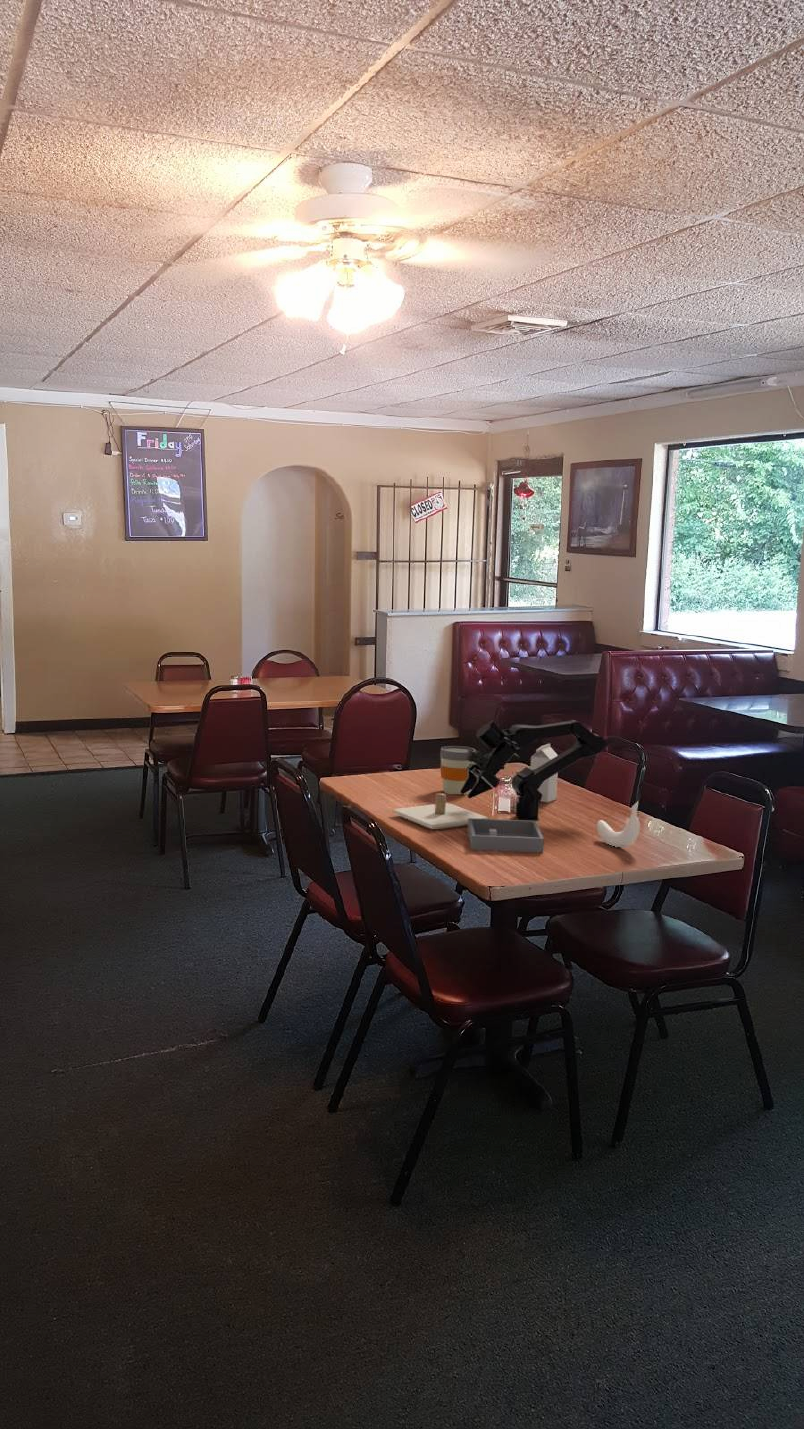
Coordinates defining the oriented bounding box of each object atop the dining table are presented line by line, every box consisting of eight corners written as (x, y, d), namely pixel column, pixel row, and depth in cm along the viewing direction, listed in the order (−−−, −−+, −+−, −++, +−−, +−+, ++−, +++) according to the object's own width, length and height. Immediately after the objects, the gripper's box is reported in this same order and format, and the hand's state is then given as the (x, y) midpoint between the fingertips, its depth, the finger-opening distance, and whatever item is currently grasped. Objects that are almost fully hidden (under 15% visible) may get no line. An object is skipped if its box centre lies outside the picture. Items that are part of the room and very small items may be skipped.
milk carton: (556, 799, 365) (559, 744, 362) (547, 803, 359) (550, 747, 356) (537, 796, 368) (540, 742, 366) (528, 799, 362) (531, 744, 360)
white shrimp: (601, 837, 318) (604, 788, 315) (643, 854, 301) (647, 803, 299) (587, 838, 315) (591, 790, 313) (629, 855, 299) (633, 804, 297)
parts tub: (534, 833, 318) (535, 820, 317) (543, 852, 298) (543, 838, 298) (467, 831, 318) (468, 818, 317) (471, 849, 298) (472, 835, 298)
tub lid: (487, 824, 327) (488, 798, 326) (431, 832, 316) (432, 805, 314) (447, 809, 344) (448, 784, 343) (392, 816, 333) (393, 790, 331)
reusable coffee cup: (440, 786, 377) (442, 745, 375) (475, 789, 376) (477, 747, 374) (436, 794, 365) (438, 751, 363) (473, 797, 364) (475, 753, 361)
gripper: (472, 737, 340) (439, 773, 339) (488, 743, 321) (453, 782, 320) (497, 761, 342) (464, 797, 341) (514, 768, 324) (479, 806, 322)
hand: (464, 795), depth 331 cm, fingers open, 9 cm apart
